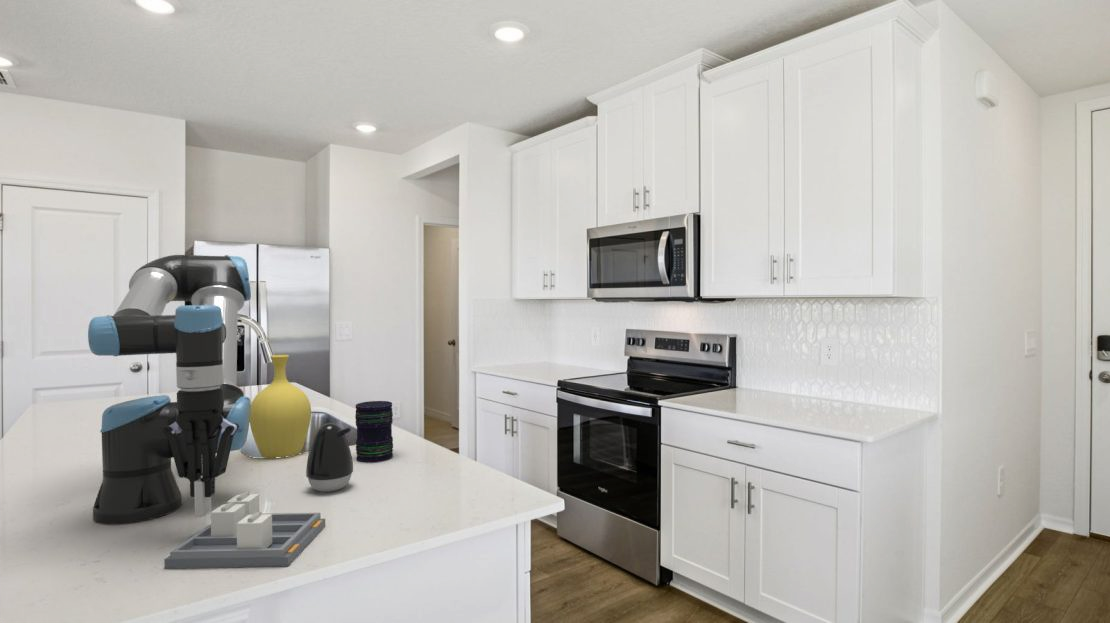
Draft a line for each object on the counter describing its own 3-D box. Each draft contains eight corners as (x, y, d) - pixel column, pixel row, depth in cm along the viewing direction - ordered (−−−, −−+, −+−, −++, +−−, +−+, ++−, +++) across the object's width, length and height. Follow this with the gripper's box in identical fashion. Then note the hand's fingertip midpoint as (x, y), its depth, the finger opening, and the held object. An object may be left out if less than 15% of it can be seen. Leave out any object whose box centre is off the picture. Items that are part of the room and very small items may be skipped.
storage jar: (401, 456, 165) (400, 402, 164) (372, 464, 157) (372, 408, 156) (376, 451, 170) (375, 399, 170) (348, 459, 162) (347, 405, 162)
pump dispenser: (338, 497, 131) (337, 429, 131) (296, 494, 133) (295, 427, 133) (362, 483, 141) (361, 419, 141) (323, 480, 143) (322, 418, 143)
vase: (268, 446, 177) (266, 352, 176) (321, 446, 176) (319, 352, 176) (237, 461, 161) (235, 358, 160) (296, 461, 160) (294, 358, 160)
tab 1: (211, 540, 104) (210, 509, 103) (223, 531, 108) (222, 501, 107) (234, 540, 104) (233, 508, 103) (245, 531, 108) (245, 500, 107)
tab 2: (227, 528, 109) (226, 498, 109) (238, 520, 113) (237, 491, 113) (249, 528, 109) (248, 498, 109) (259, 520, 113) (259, 491, 113)
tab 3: (237, 553, 98) (236, 519, 98) (248, 543, 102) (248, 511, 102) (261, 553, 98) (260, 519, 98) (272, 543, 102) (271, 510, 102)
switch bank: (164, 568, 97) (164, 552, 97) (220, 528, 114) (220, 514, 114) (288, 566, 97) (287, 549, 97) (325, 526, 114) (325, 512, 114)
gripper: (151, 391, 106) (154, 522, 107) (225, 390, 107) (227, 520, 107) (177, 385, 114) (180, 507, 114) (246, 384, 114) (248, 506, 115)
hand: (203, 513), depth 111 cm, fingers closed
